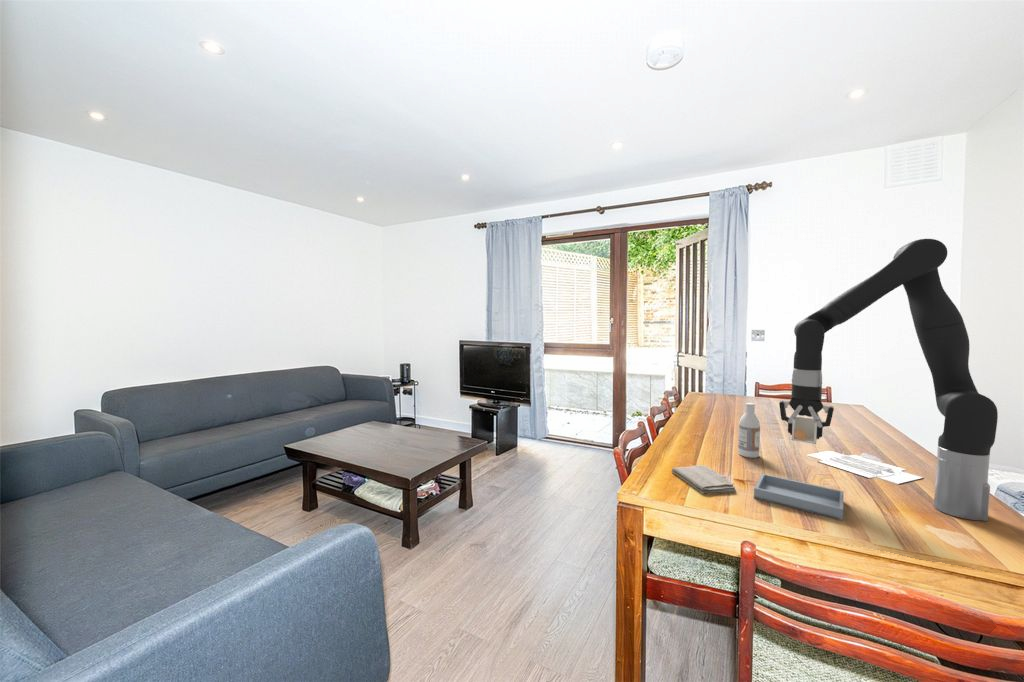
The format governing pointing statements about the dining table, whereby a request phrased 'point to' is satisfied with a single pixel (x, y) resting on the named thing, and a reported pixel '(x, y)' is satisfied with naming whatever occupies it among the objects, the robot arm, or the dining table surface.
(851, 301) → the robot arm
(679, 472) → the washcloth
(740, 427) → the bath foam
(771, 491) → the tray
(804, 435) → the ball
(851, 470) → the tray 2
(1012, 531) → the dining table surface
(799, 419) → the white cube stool
